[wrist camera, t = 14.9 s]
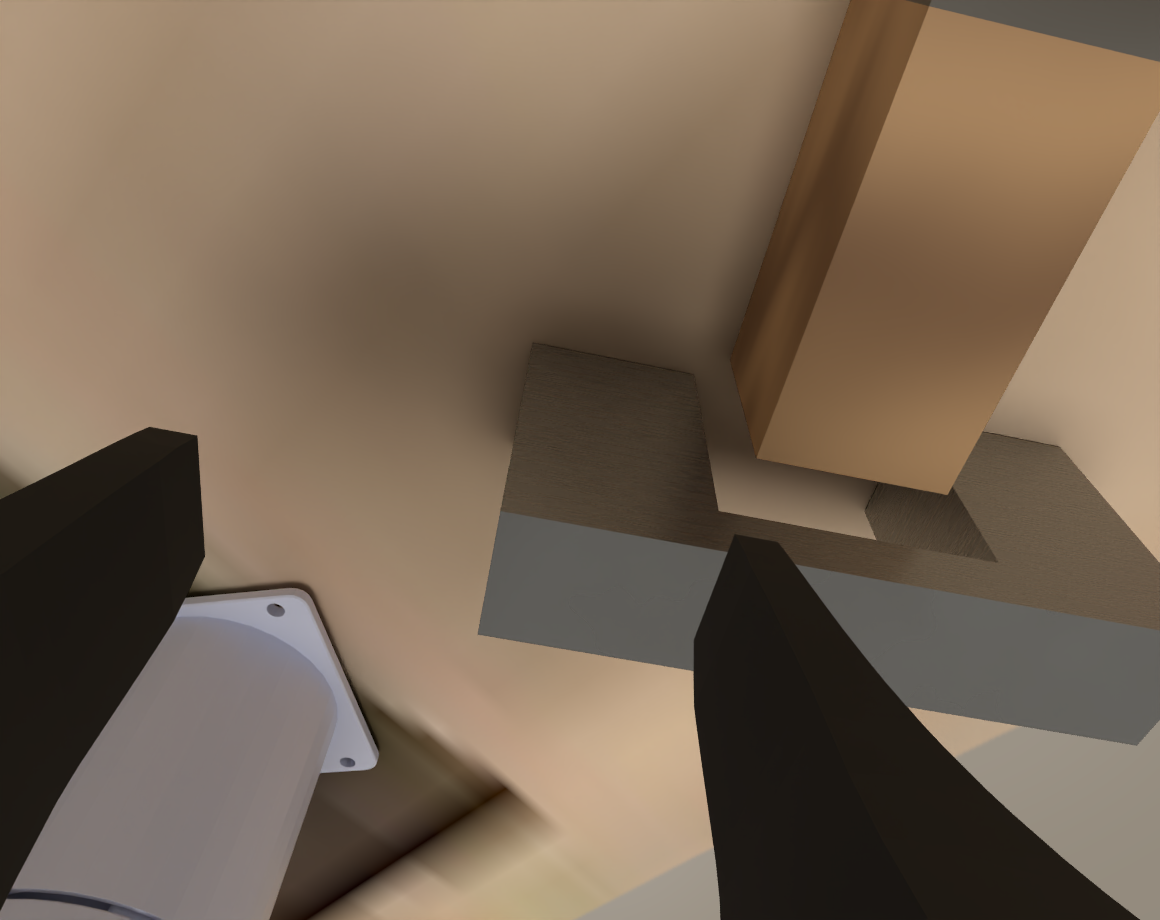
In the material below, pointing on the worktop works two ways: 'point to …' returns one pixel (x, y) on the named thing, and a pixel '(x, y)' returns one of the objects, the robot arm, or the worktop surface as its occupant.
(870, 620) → the u-shaped slotted block
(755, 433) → the bar
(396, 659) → the worktop surface
